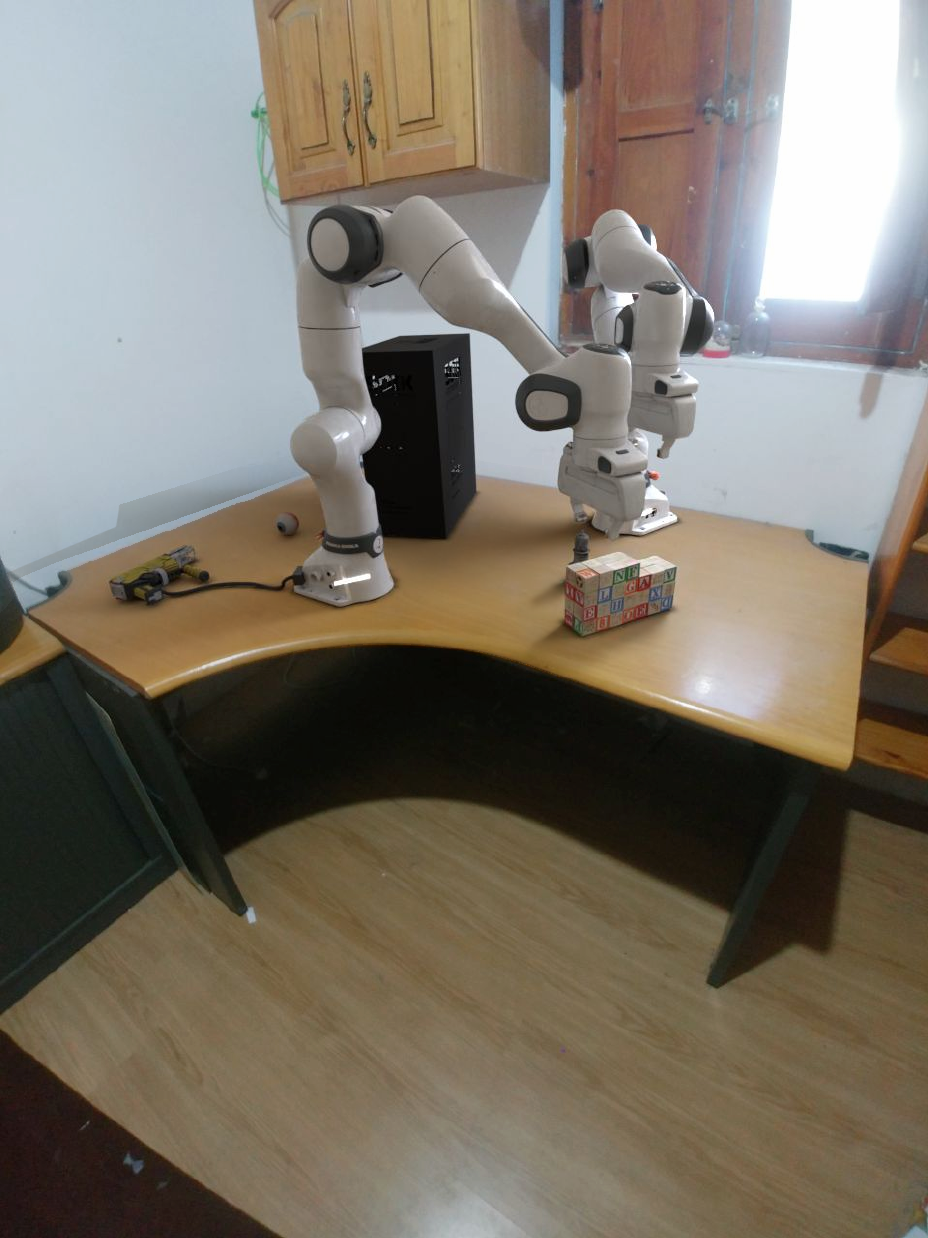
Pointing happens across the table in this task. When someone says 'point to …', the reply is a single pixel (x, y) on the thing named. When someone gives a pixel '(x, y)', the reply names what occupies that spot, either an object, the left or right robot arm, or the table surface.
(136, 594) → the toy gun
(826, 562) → the table surface
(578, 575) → the stack of blocks
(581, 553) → the grey chess piece
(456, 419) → the black computer case
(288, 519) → the eyeball
